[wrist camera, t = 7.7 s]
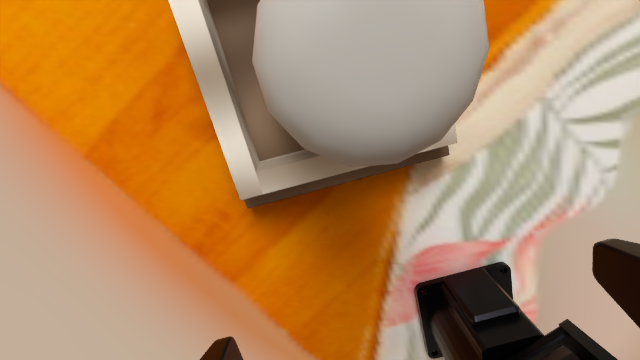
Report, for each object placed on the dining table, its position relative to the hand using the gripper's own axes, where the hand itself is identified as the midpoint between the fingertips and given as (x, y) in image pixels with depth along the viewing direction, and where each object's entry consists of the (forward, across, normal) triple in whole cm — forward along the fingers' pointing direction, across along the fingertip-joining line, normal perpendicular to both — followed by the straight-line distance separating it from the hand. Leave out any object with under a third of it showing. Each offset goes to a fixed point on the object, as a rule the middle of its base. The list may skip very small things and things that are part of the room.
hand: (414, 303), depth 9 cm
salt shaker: (+12, 0, -6) cm, 13 cm away
